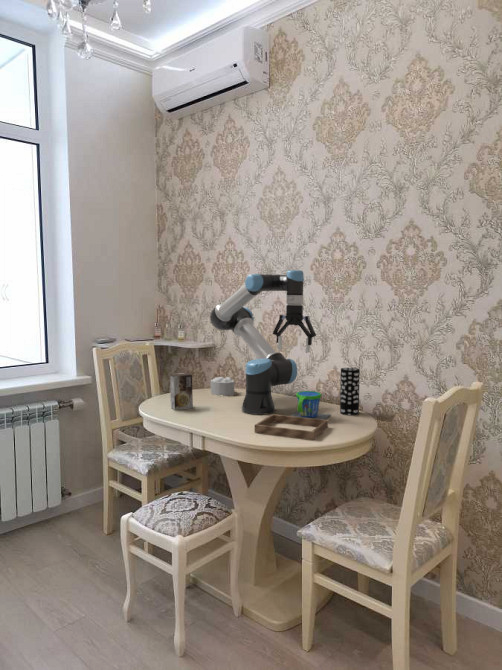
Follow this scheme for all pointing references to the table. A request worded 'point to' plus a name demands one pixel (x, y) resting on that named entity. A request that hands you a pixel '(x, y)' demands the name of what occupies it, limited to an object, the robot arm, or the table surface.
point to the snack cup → (308, 403)
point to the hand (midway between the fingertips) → (293, 351)
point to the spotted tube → (349, 391)
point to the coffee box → (181, 391)
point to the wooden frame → (287, 432)
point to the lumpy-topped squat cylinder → (222, 386)
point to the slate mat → (319, 416)
